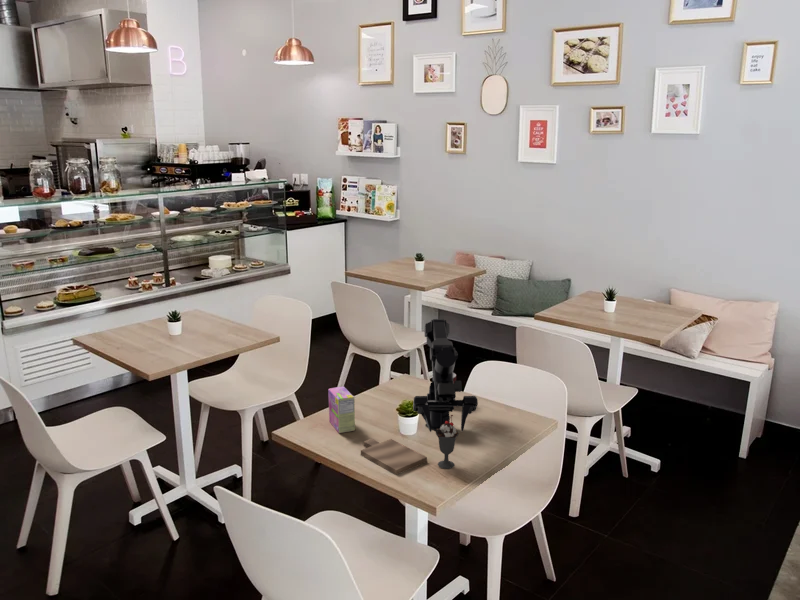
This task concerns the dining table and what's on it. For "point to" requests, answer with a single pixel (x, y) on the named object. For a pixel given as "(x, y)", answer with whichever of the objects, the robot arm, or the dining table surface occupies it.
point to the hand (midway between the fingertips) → (446, 431)
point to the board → (392, 455)
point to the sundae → (447, 442)
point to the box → (341, 409)
